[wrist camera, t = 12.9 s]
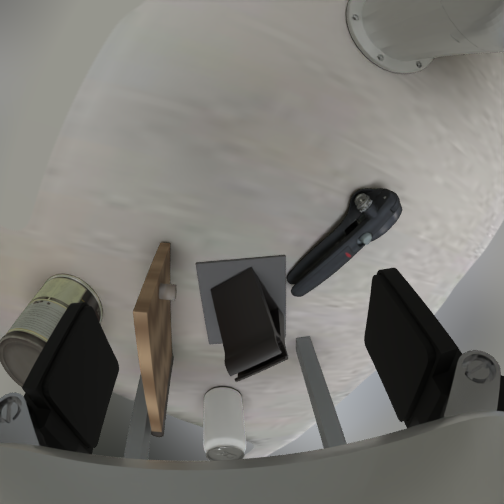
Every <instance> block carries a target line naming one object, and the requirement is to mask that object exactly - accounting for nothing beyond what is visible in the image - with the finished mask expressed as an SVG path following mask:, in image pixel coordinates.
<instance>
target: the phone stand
mask: <svg viewBox="0 0 504 504" xmlns="http://www.w3.org/2000/svg"><path fill="white" fill-rule="evenodd" d="M211 295H212V299H213V304H214V308H215V313H216V317H217V321H218V325H219V330H220V334H221V338H222V342H223V346H224V351H225V366H226V369H227V371H228V373H229V375H230V376H232V375H234V374H237V373H238V377H237V378H235V381H236V382H238V381H240V380H243V379H245V378H247V377H249V376H252V375H254V374H256V373H259V372H261V371H263V370H265V369H268V368H270V367H272V366H274V365H276V364H278V363H281V362H283V361H285V360H287V359H288V354H287V351H286V347H285V331H284V315H283V313H282V312H281V310H280V309H279V307H278V306H277V304H276V303H275V301H274V300H273V298H272V297H271V295H270V294H269V293H268V291H267V289H266V288H265V286H264V285H263V283H262V282H261V280H260V279H259V277H258V276H257V274H256V273H255V271H254V270H253V268H252V267H251V268H249V269H247V270H245V271H244V272H242V273H240V274H238V275H236V276H234V277H233V278H231V279H229V280H227V281H225V282H223V283H222V284H220V285H218V286H216V287H214V288H212V289H211Z"/></svg>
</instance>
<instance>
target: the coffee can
mask: <svg viewBox="0 0 504 504" xmlns="http://www.w3.org/2000/svg"><path fill="white" fill-rule="evenodd" d="M80 302H86V303H87V304H88V305H89V306H92V307H93V309H94V311H95V314H96V316H97V318H98V321H99V323H100V322H101V320H102V306H101V303H100V300H99V298H98V296H97V295H96V293H95V292H94V291H93V289H92V288H91V287H90V286H89V285H88V284H86V283H85V282H84V281H82V280H80V279H79V278H77V277H74V276H71V275H67V274H60V275H55V276H52V277H51V278H49V279H48V280H47V281H46V282H45V284H44V286H43V287H42V288H41V289H40V291H39V292H38V293H37V294H36V296H35V297H34V298H33V299H32V301H31V302H30V303H29V304H28V306H27V307H26V308H25V310H24V311H23V312H22V313H21V315H20V316H19V317H18V319H17V320H16V321H15V323H14V324H13V325H12V327H11V328H10V330H9V331H8V332H7V334H6V335H5V336H3V337H2V339H1V340H0V362H1V364H2V365H3V367H4V369H5V370H6V372H7V373H8V374H9V376H10V377H11V378H12V379H13V380H14V381H15V382H16V383H17V384H18V385H20V386H21V387H22V386H23V384H24V383H25V381H26V379H27V377H28V375H29V373H30V371H31V369H32V367H33V366H34V364H35V362H36V360H37V358H38V356H39V355H40V353H41V351H42V349H43V348H44V346H45V344H46V342H47V341H48V339H49V337H50V336H51V334H52V332H53V331H54V329H55V327H56V326H57V324H58V322H59V321H60V319H61V317H62V316H63V314H64V313H65V311H66V309H67V308H68V306H69V305H70V304H71V303H80Z"/></svg>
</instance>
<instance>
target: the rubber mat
mask: <svg viewBox="0 0 504 504" xmlns="http://www.w3.org/2000/svg"><path fill="white" fill-rule="evenodd" d="M251 267H252V268H253V270H254V271H255V273H256V274H257V276H258V277H259V279H260V280H261V282H262V283H263V285H264V286H265V288H266V289H267V291H268V293H269V294H270V295H271V297H272V298H273V300H274V301H275V303H276V304H277V306H278V307H279V309H280V310H281V312H282V313H283V315H284V331H285V337H286V257H285V255H279V256H268V257H257V258H245V259H234V260H223V261H211V262H199V263H196V268H197V275H198V281H199V288H200V294H201V300H202V306H203V312H204V318H205V324H206V329H207V335H208V340H209V344H221V343H223V342H222V338H221V334H220V330H219V325H218V321H217V317H216V313H215V308H214V304H213V299H212V295H211V289H212V288H214V287H216V286H218V285H220V284H222V283H223V282H225V281H227V280H229V279H231V278H233V277H234V276H236V275H238V274H240V273H242V272H244V271H245V270H247V269H249V268H251Z"/></svg>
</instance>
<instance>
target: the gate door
mask: <svg viewBox="0 0 504 504" xmlns="http://www.w3.org/2000/svg"><path fill="white" fill-rule="evenodd" d="M175 299H176V285H175V284H170V243H160V245H159V247H158V249H157V252H156V254H155V257H154V259H153V262H152V264H151V266H150V269H149V271H148V274H147V276H146V279H145V281H144V284H143V287H142V289H141V292H140V294H139V297H138V300H137V302H136V305H135V308H134V310H133V316H134V325H135V334H136V342H137V349H138V357H139V363H140V370H141V376H142V383H143V388H144V394H145V400H146V405H147V410H148V415H149V420H150V425H151V434H152V435H153V436H156V437H162V436H163V435H164V428H165V419H166V410H167V402H168V394H169V387H170V379H171V372H172V365H173V355H172V343H171V313H170V300H175Z"/></svg>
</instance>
